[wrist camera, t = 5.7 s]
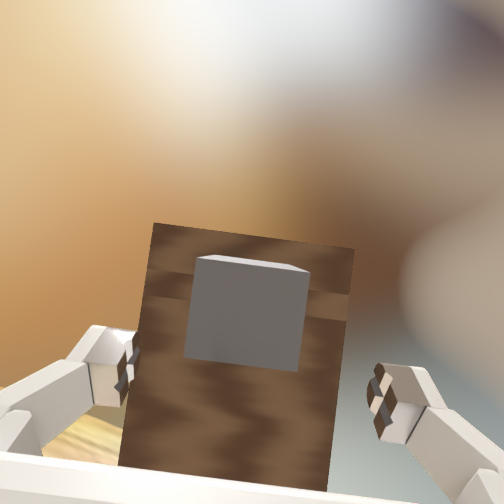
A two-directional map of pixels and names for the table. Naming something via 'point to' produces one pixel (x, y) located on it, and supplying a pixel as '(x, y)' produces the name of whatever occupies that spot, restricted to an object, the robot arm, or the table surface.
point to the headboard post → (235, 372)
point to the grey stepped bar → (247, 312)
